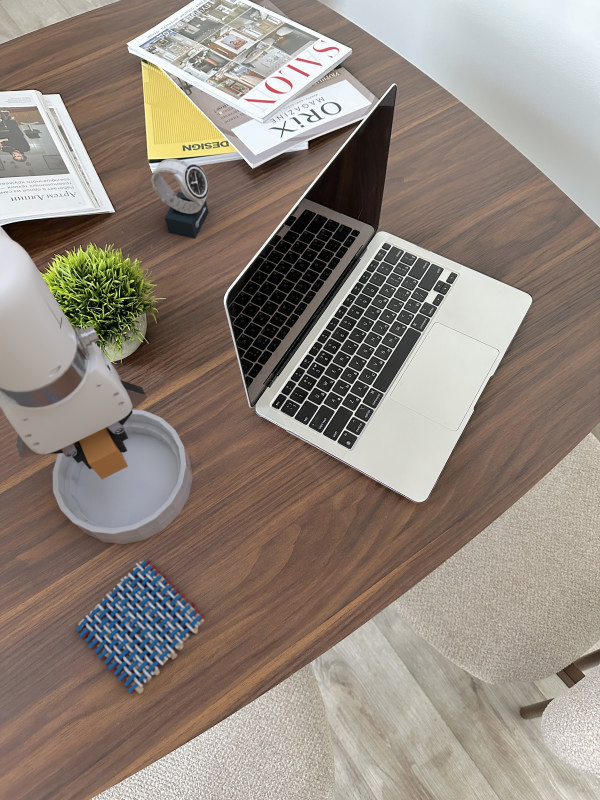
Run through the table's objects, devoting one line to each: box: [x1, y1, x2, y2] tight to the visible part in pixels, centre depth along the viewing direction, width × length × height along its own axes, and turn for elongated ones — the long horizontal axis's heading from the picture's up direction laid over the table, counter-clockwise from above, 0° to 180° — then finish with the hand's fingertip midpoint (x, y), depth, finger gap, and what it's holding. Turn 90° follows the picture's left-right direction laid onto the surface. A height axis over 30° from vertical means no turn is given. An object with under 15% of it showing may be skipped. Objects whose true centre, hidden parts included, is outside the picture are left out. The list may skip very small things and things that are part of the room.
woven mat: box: [75, 558, 205, 695], centre depth 68 cm, size 10×11×2 cm
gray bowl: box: [52, 409, 193, 545], centre depth 74 cm, size 15×15×5 cm
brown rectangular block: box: [79, 428, 128, 479], centre depth 67 cm, size 3×8×4 cm, turn 29°
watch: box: [150, 158, 210, 239], centre depth 91 cm, size 6×8×11 cm
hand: (103, 448), depth 68 cm, fingers closed on brown rectangular block, 3 cm apart
